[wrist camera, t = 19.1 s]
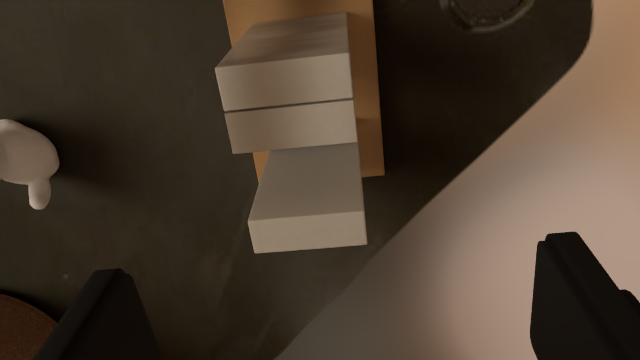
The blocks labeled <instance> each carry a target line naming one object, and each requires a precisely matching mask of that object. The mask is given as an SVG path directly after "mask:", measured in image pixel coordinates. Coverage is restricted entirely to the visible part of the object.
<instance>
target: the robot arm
mask: <svg viewBox="0 0 640 360" xmlns="http://www.w3.org/2000/svg"><path fill="white" fill-rule="evenodd" d="M530 339H531V343H532V347H533V349H534V352H535V354H536V356H537V359H538V360H640V303H639V301H638V300H637V299H636V297H635V296H634V295H633V294H632V293H631V292H629V291H627V290H619V289H618V287H617V286H616V284H615V283H614V282H613V280H612V279H611V278H610V276H609V275H608V274H607V272H606V271H605V270H604V268H603V267H602V265H601V264H600V263H599V261H598V260H597V259H596V257H595V256H594V255H593V253H592V252H591V251H590V249H589V248H588V246H587V245H586V244H585V242H584V241H583V240H582V238H581V237H580V235H579V234H578V233H576V232H565V233H552V234H548V235H547V236H546V239H545V241H539V242H538V245H537V254H536V266H535V277H534V289H533V301H532V314H531V325H530ZM32 360H162V355H161V352H160V349H159V347H158V344H157V341H156V339H155V336H154V333H153V331H152V328H151V325H150V323H149V320H148V317H147V315H146V312H145V309H144V307H143V304H142V301H141V299H140V296H139V293H138V291H137V288H136V285H135V283H134V280H133V278H132V276H131V275H130V274H126V273H125V272H124V271H123V270H122V269H119V268H118V269H106V270H97V271H95V272H94V273H93V274H92V275H91V277H90V278H89V279H88V281H87V282H86V284H85V285H84V287H83V288H82V289H81V291H80V292H79V294H78V295H77V297H76V298H75V299H74V301H73V302H72V304H71V305H70V306H69V308H68V309H67V311H66V312H65V314H64V315H63V316H62V318H61V319H60V321H59V322H58V324H57V325H56V326H55V328H54V329H53V331H52V332H51V334H50V335H49V336H48V338H47V339H46V341H45V342H44V343H43V345H42V346H41V348H40V349H39V351H38V352H37V353H36V355H35V356H34V358H33V359H32Z"/></svg>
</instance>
